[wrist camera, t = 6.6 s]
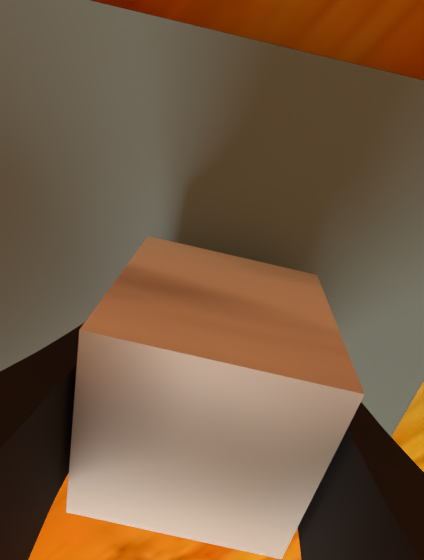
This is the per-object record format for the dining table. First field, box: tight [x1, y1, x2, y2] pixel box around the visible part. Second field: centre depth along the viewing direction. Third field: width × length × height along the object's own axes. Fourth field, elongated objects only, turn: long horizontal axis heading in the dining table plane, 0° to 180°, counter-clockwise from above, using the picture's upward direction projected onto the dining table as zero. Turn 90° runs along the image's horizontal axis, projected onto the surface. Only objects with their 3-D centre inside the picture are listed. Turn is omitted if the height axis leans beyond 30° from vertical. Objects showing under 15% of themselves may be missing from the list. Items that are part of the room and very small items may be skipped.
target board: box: [0, 0, 424, 436], centre depth 14 cm, size 16×16×1 cm
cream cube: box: [66, 236, 365, 559], centre depth 10 cm, size 5×5×5 cm
